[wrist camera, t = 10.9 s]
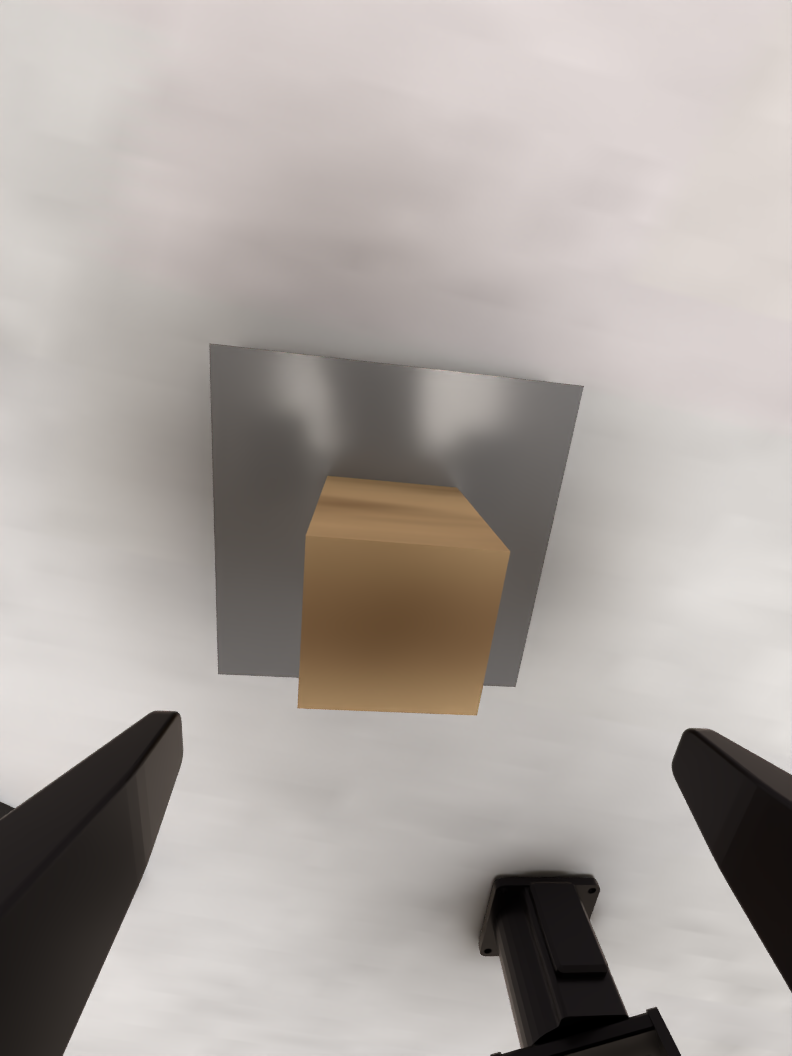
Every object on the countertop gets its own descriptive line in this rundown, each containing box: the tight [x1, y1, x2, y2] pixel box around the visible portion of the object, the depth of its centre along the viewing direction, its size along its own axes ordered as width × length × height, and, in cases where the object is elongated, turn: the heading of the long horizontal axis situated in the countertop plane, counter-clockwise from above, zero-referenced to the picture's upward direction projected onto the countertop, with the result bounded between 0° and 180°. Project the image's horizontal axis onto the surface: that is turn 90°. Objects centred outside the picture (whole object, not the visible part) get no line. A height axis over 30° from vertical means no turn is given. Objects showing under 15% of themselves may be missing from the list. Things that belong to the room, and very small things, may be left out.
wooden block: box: [298, 476, 510, 715], centre depth 13 cm, size 4×4×6 cm
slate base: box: [209, 344, 584, 687], centre depth 17 cm, size 12×12×3 cm
